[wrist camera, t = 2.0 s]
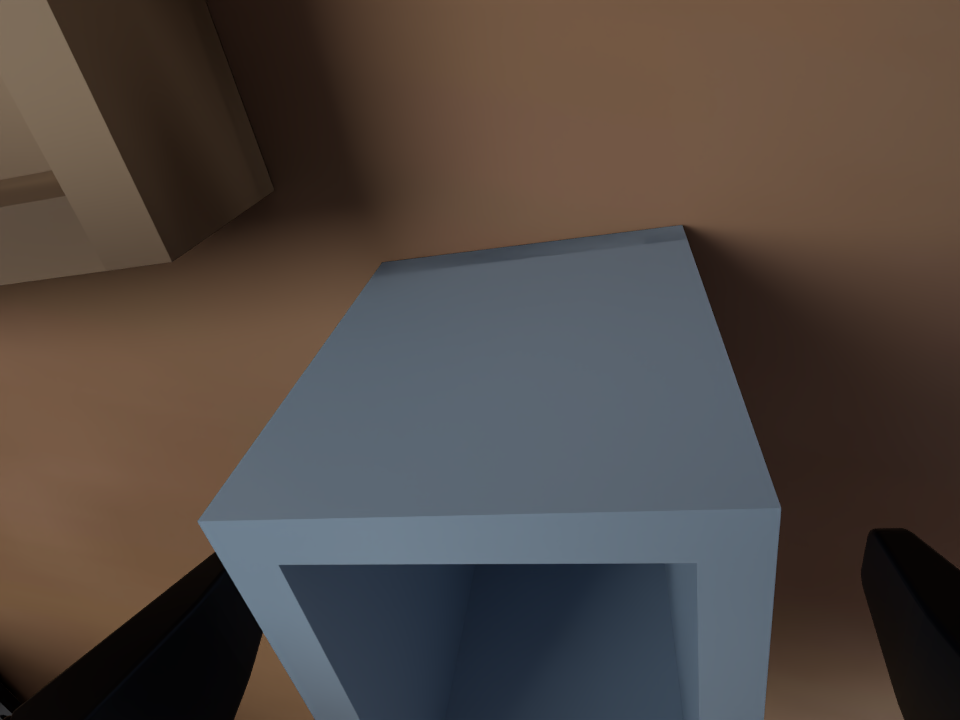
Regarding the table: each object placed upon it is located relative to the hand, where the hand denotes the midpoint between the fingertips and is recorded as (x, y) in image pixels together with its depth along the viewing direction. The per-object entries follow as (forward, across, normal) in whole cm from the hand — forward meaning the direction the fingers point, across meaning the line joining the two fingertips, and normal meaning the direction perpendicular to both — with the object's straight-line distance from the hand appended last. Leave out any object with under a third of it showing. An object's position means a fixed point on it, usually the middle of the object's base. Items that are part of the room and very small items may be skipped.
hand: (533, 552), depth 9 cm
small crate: (+3, 0, 0) cm, 3 cm away
